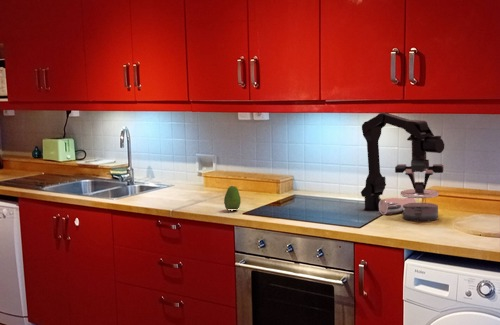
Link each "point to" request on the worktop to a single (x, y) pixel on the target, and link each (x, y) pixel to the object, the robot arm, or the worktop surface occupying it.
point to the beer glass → (393, 205)
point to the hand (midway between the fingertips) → (419, 189)
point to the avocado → (232, 198)
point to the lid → (419, 192)
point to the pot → (420, 212)
